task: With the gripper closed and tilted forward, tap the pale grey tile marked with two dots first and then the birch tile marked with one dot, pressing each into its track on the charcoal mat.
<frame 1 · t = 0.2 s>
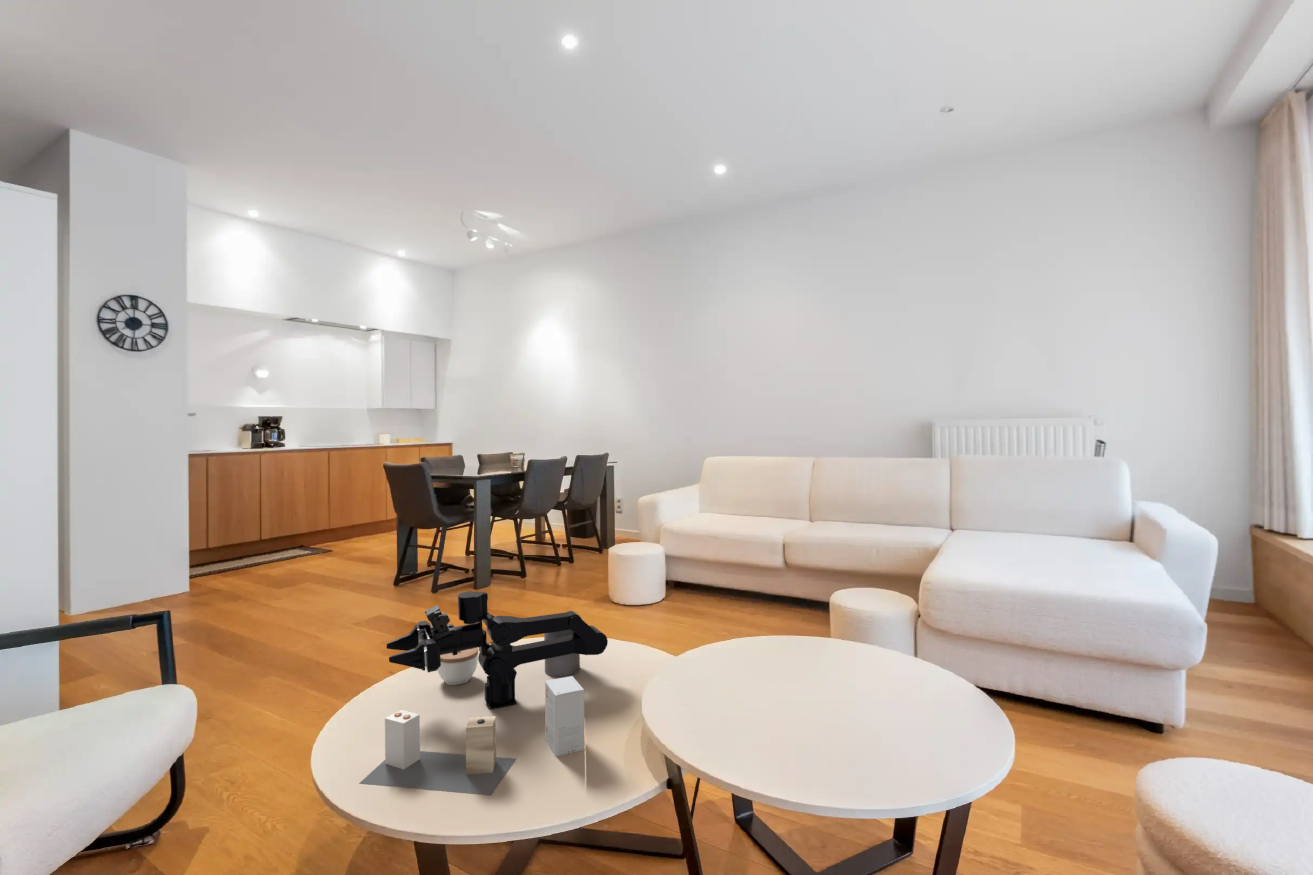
hand: (387, 652, 132), 17 cm above the table, tool horizontal, fingers open, 9 cm apart
small box: (564, 747, 123), on the table
tile two: (402, 738, 117), point 5 cm above the table, slide at 0.0 cm
lidded jar: (457, 680, 157), on the table
pillar candle: (561, 671, 163), on the table
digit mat: (440, 773, 114), on the table
tile one: (481, 744, 114), point 5 cm above the table, slide at 0.0 cm
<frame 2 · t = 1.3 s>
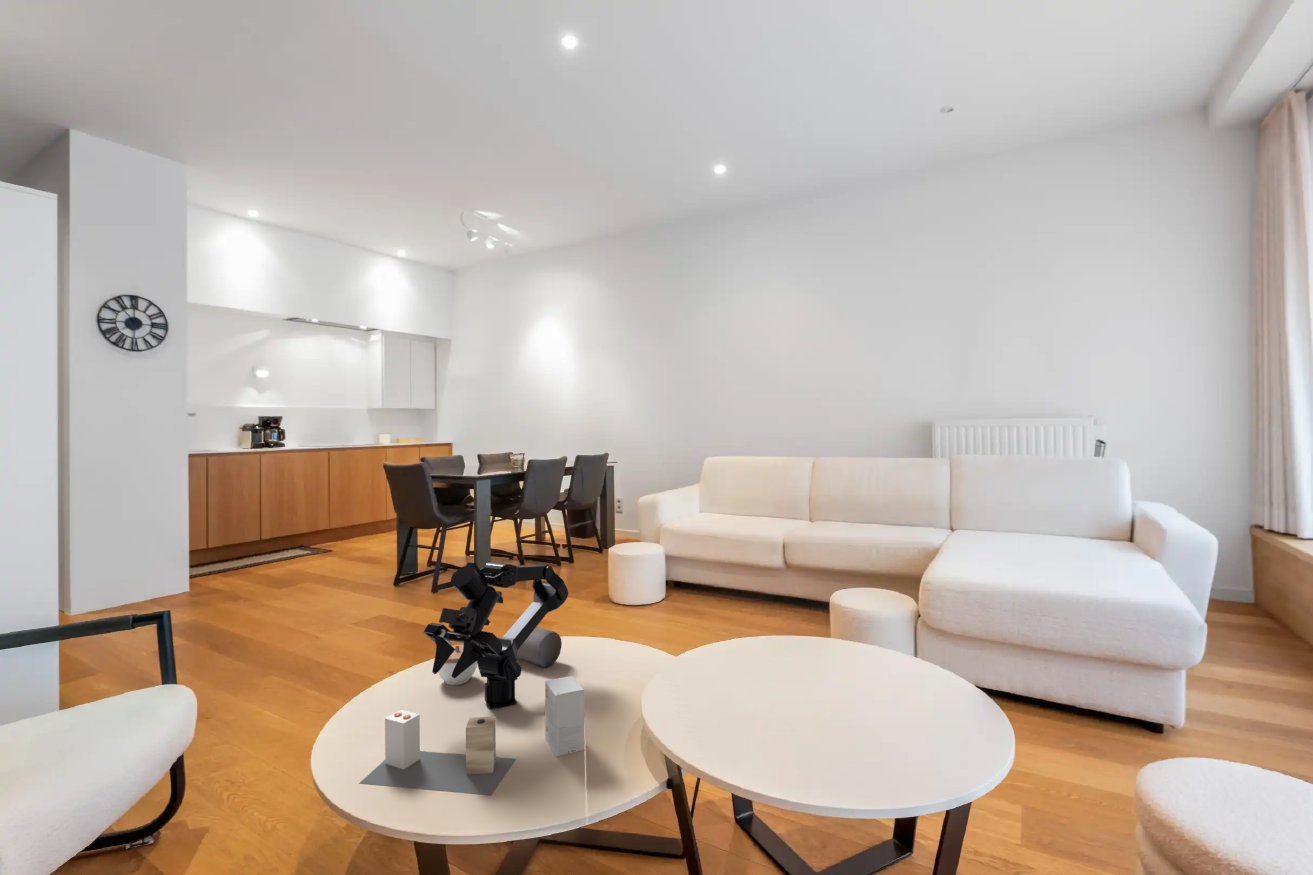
hand: (443, 675, 127), 14 cm above the table, tool tilted 45°, fingers open, 5 cm apart
pillar candle: (550, 649, 166), point 5 cm above the table
everything else where it was.
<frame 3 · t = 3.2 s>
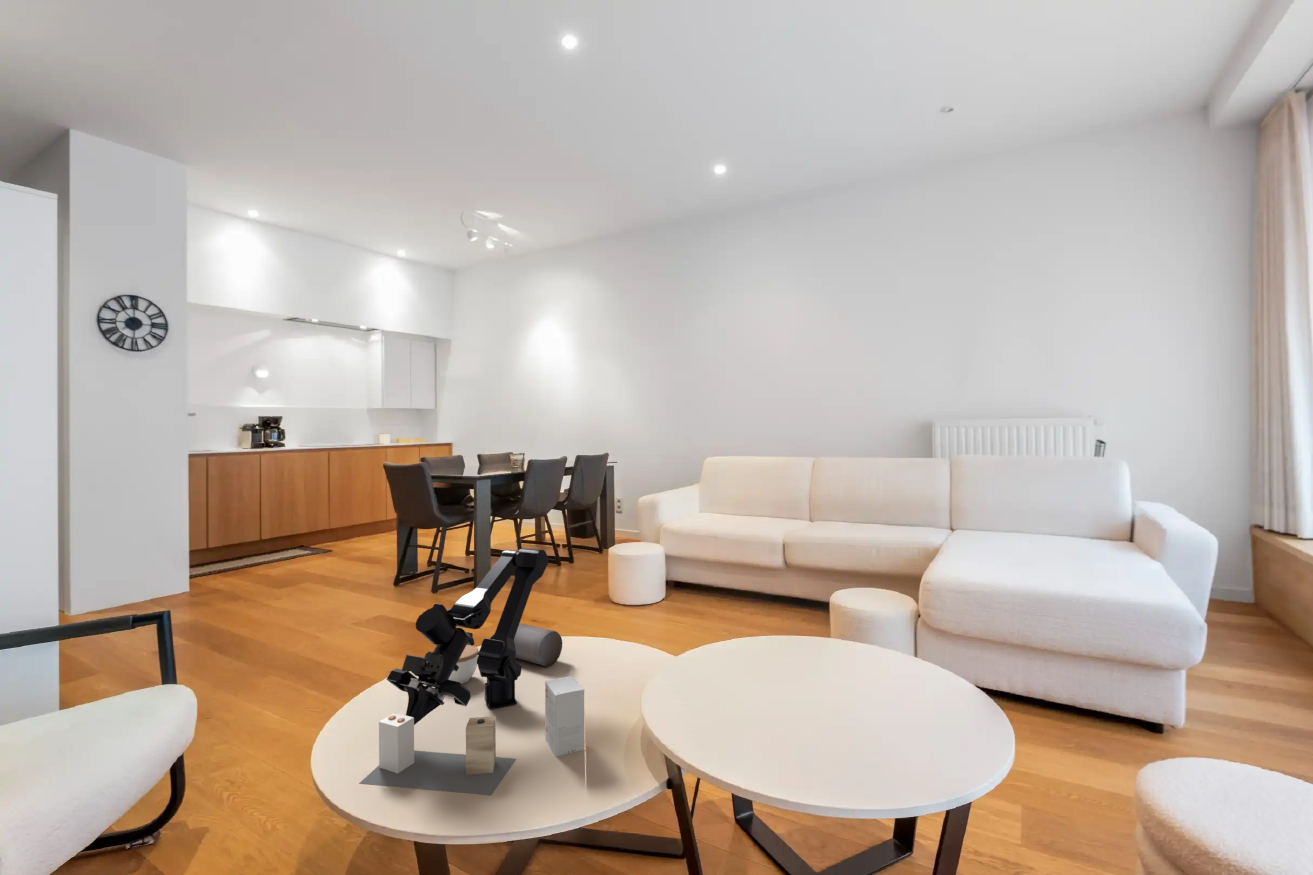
hand: (405, 728, 118), 7 cm above the table, tool tilted 45°, fingers closed, pressing on tile two
tile two: (396, 741, 115), point 5 cm above the table, slide at 1.4 cm, touching gripper
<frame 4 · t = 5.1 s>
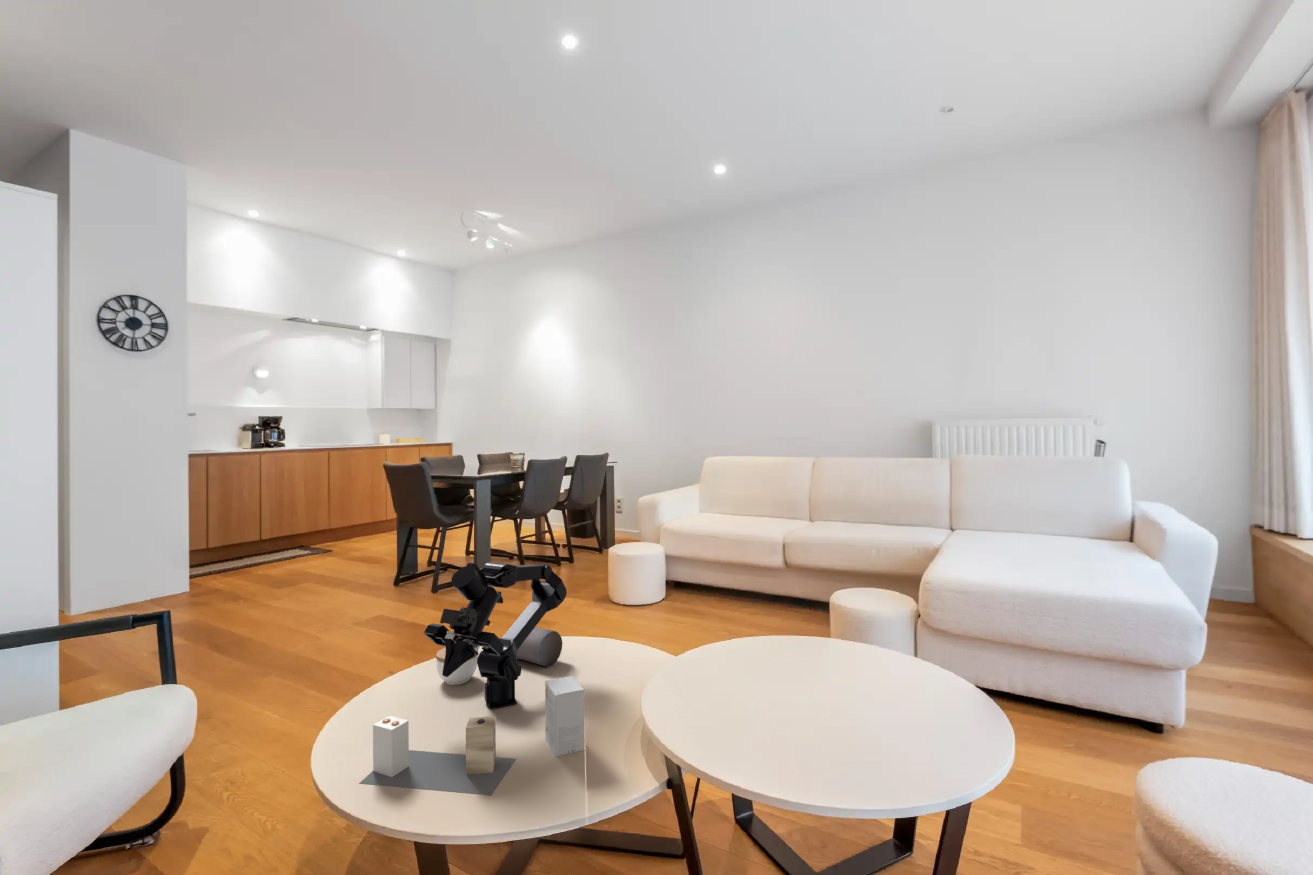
hand: (444, 675, 127), 14 cm above the table, tool tilted 45°, fingers closed
tile two: (390, 744, 114), point 5 cm above the table, slide at 2.8 cm
everything else where it was.
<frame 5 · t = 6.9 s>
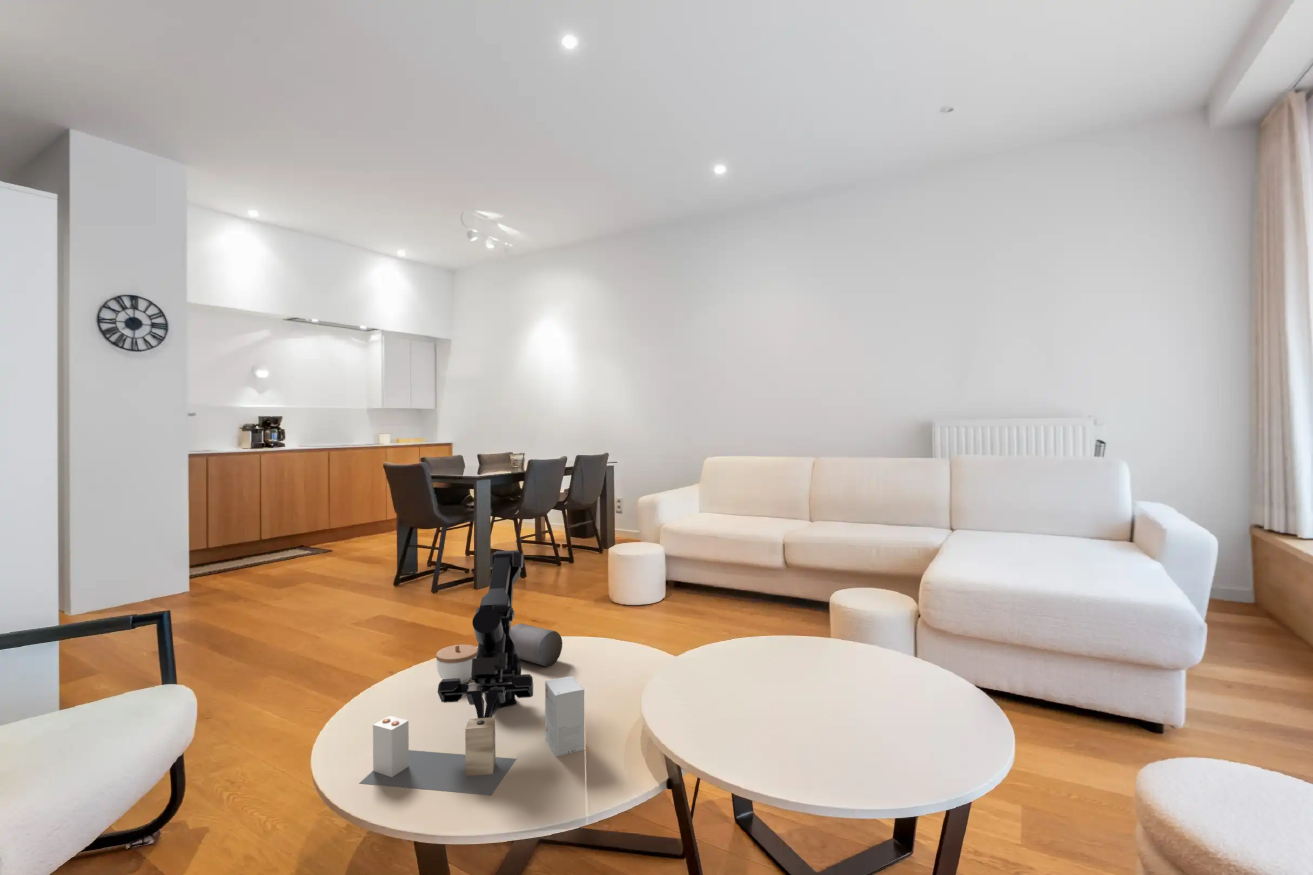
hand: (482, 731, 116), 7 cm above the table, tool tilted 45°, fingers closed, pressing on tile one
tile one: (480, 745, 114), point 5 cm above the table, slide at 0.4 cm, touching gripper
everything else where it was.
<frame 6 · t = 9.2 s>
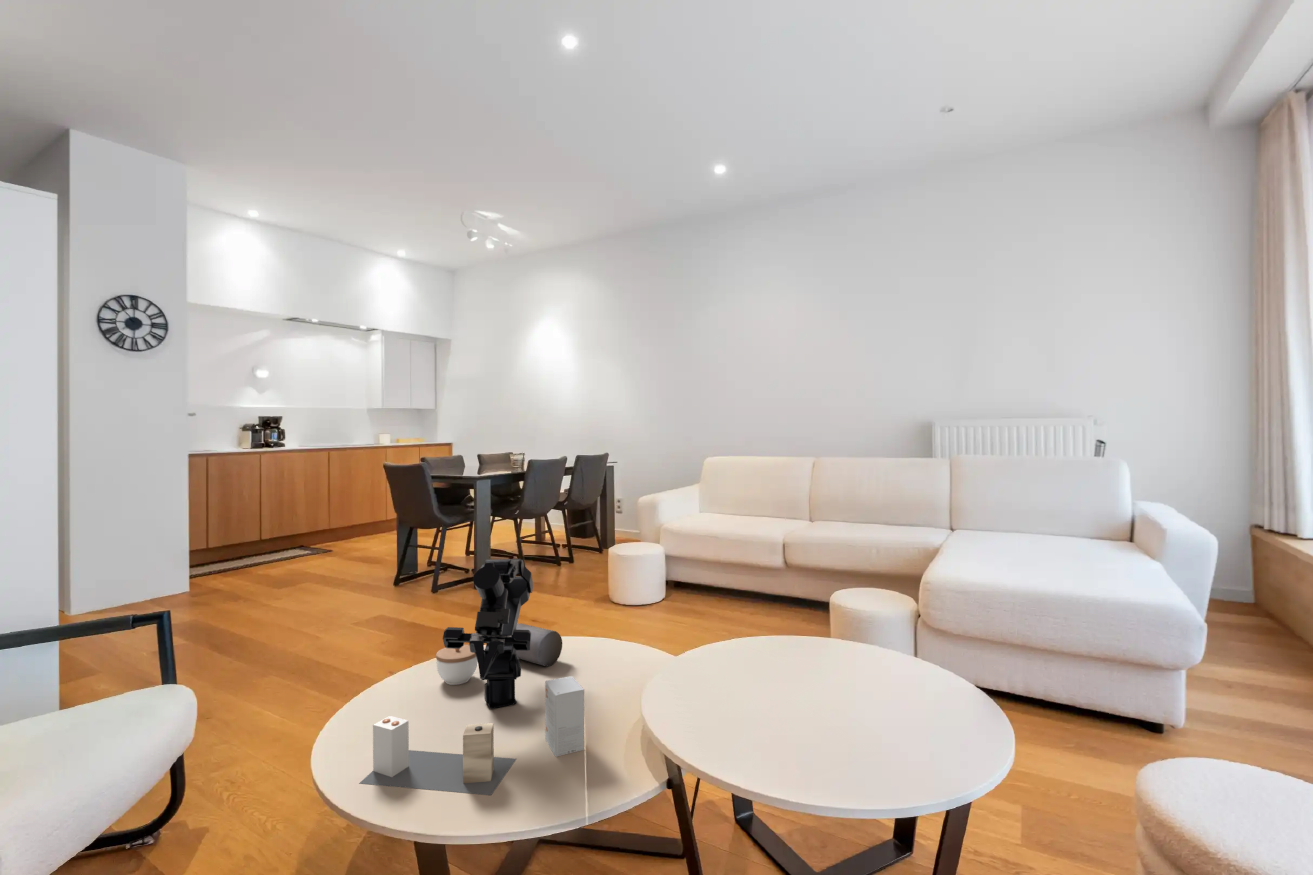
hand: (482, 678, 126), 13 cm above the table, tool tilted 40°, fingers closed
tile one: (478, 751, 112), point 5 cm above the table, slide at 2.8 cm
everything else where it was.
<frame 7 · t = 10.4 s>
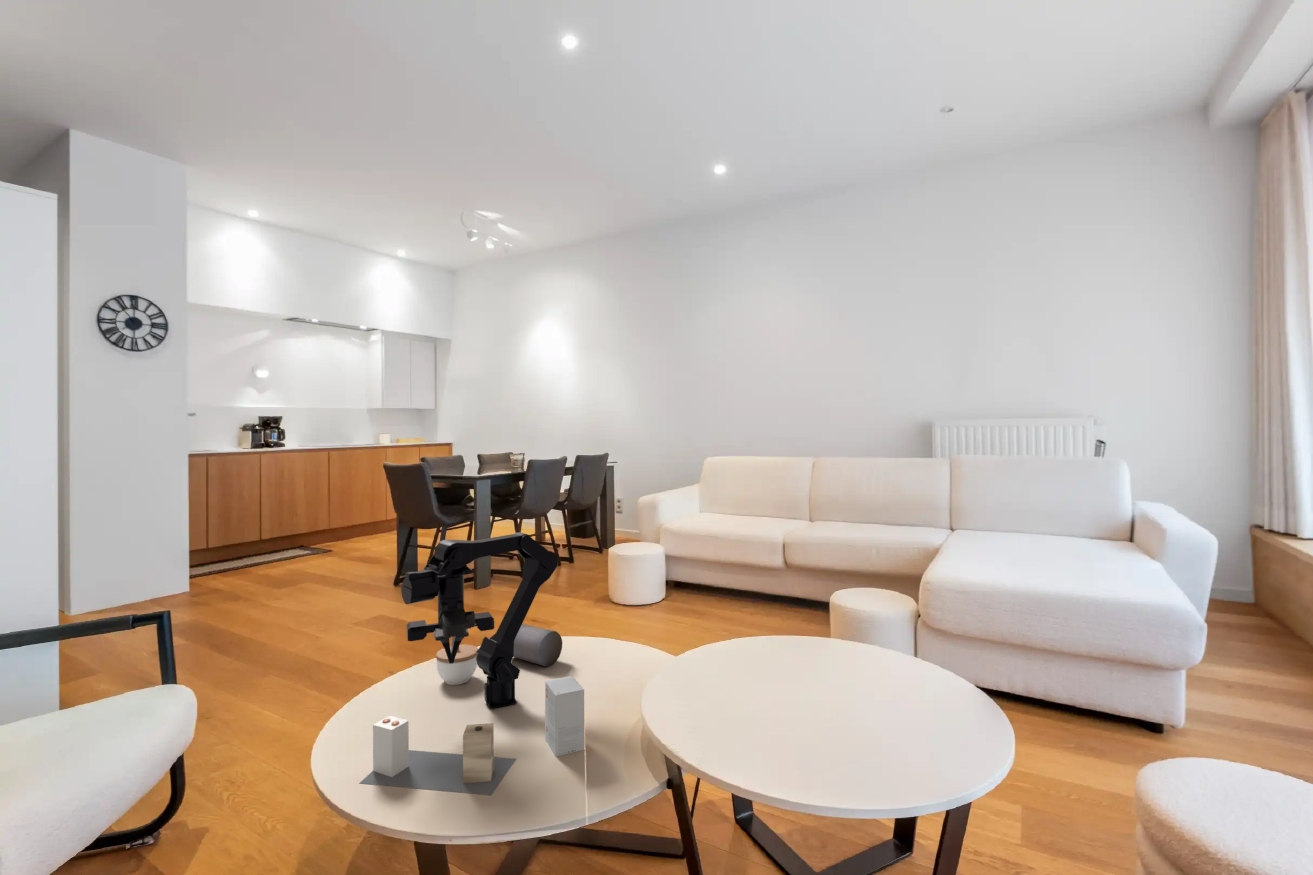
hand: (451, 662, 135), 13 cm above the table, tool pointing down, fingers closed
nothing on the table moved.
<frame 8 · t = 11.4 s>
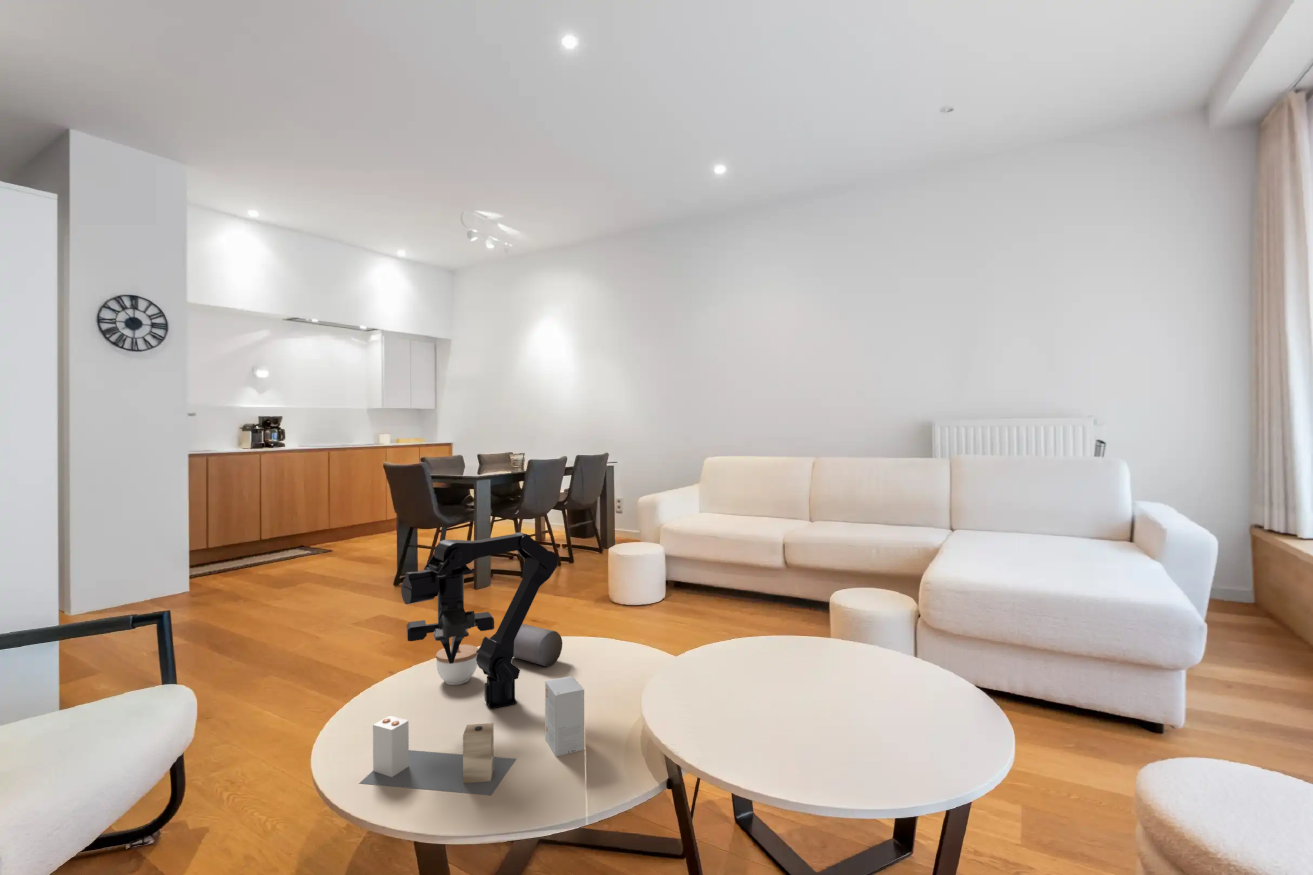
hand: (451, 662, 135), 13 cm above the table, tool pointing down, fingers closed
nothing on the table moved.
at the end: tile two slide at 2.8 cm; tile one slide at 2.8 cm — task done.
